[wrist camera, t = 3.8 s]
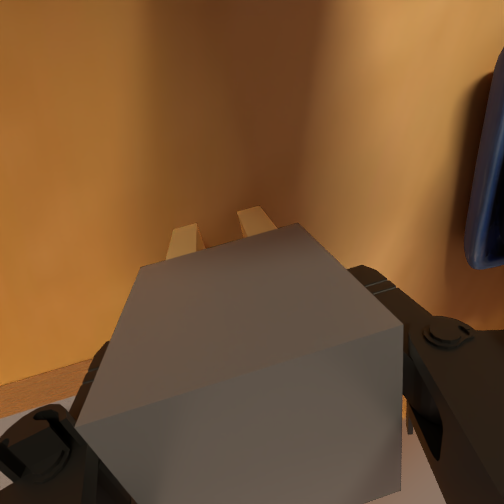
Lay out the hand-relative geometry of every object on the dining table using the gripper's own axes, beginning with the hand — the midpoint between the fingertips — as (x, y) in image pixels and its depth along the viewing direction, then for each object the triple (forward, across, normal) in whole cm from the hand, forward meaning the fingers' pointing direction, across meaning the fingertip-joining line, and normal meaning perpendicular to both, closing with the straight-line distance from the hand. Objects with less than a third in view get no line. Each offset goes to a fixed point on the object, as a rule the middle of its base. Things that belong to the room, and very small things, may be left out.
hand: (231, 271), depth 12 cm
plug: (+2, 0, 0) cm, 2 cm away
